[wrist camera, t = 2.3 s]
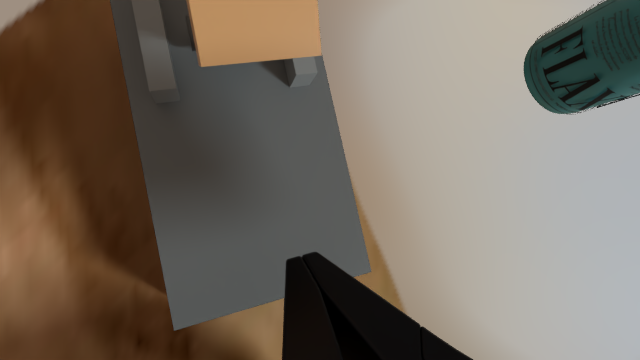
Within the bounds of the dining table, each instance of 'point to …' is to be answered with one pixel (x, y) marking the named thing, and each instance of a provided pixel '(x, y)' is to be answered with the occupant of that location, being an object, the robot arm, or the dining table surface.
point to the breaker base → (233, 166)
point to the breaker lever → (252, 30)
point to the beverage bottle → (587, 59)
